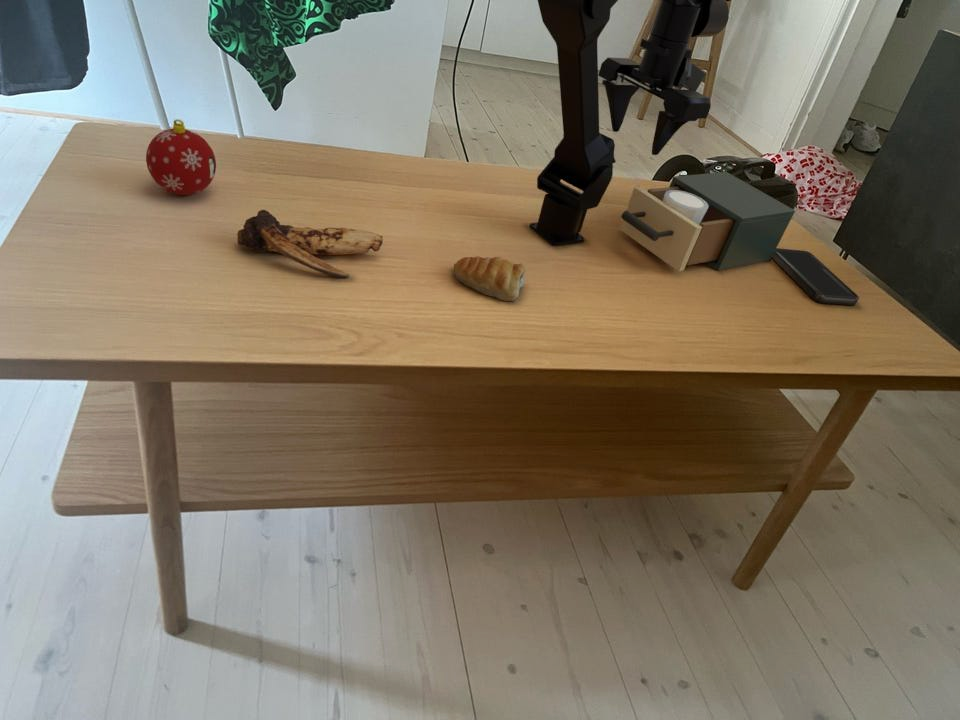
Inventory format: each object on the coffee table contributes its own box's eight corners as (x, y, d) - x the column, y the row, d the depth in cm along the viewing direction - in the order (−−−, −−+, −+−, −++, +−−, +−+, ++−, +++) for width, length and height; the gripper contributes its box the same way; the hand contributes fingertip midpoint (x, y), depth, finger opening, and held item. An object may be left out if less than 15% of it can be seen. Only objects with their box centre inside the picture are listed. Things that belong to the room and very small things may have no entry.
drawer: (657, 276, 99) (675, 231, 95) (598, 232, 107) (613, 189, 103) (731, 261, 108) (750, 219, 103) (672, 221, 116) (687, 181, 112)
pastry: (446, 286, 87) (451, 260, 85) (458, 263, 93) (463, 238, 90) (516, 305, 87) (523, 280, 84) (524, 281, 92) (531, 256, 90)
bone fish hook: (233, 276, 81) (385, 282, 85) (231, 241, 78) (388, 249, 82) (239, 235, 88) (379, 243, 92) (237, 202, 85) (382, 212, 89)
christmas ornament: (172, 173, 97) (166, 103, 91) (228, 188, 97) (226, 119, 91) (135, 195, 90) (126, 120, 84) (196, 211, 90) (192, 138, 84)
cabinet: (718, 271, 106) (742, 218, 101) (653, 227, 115) (673, 176, 110) (770, 260, 113) (795, 210, 108) (706, 219, 122) (726, 171, 117)
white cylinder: (692, 255, 104) (710, 213, 100) (649, 243, 105) (665, 201, 100) (690, 236, 110) (707, 196, 106) (649, 225, 110) (664, 185, 106)
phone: (820, 296, 103) (770, 247, 114) (816, 302, 104) (767, 253, 115) (862, 299, 105) (809, 251, 116) (859, 305, 106) (806, 256, 117)
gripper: (754, 59, 96) (711, 164, 106) (662, 21, 108) (631, 119, 117) (703, 57, 90) (662, 168, 100) (611, 17, 102) (582, 120, 111)
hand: (634, 142), depth 107 cm, fingers open, 9 cm apart
